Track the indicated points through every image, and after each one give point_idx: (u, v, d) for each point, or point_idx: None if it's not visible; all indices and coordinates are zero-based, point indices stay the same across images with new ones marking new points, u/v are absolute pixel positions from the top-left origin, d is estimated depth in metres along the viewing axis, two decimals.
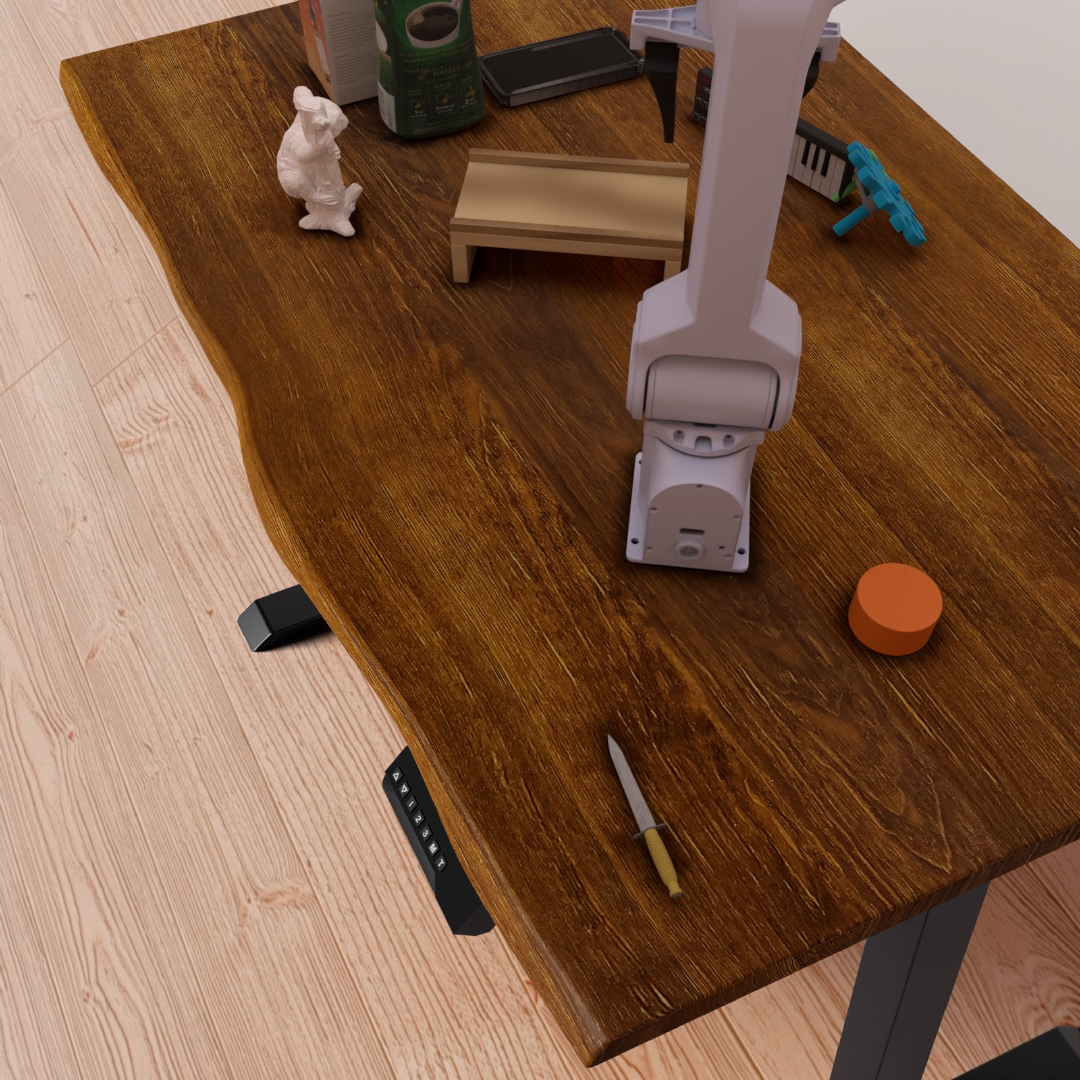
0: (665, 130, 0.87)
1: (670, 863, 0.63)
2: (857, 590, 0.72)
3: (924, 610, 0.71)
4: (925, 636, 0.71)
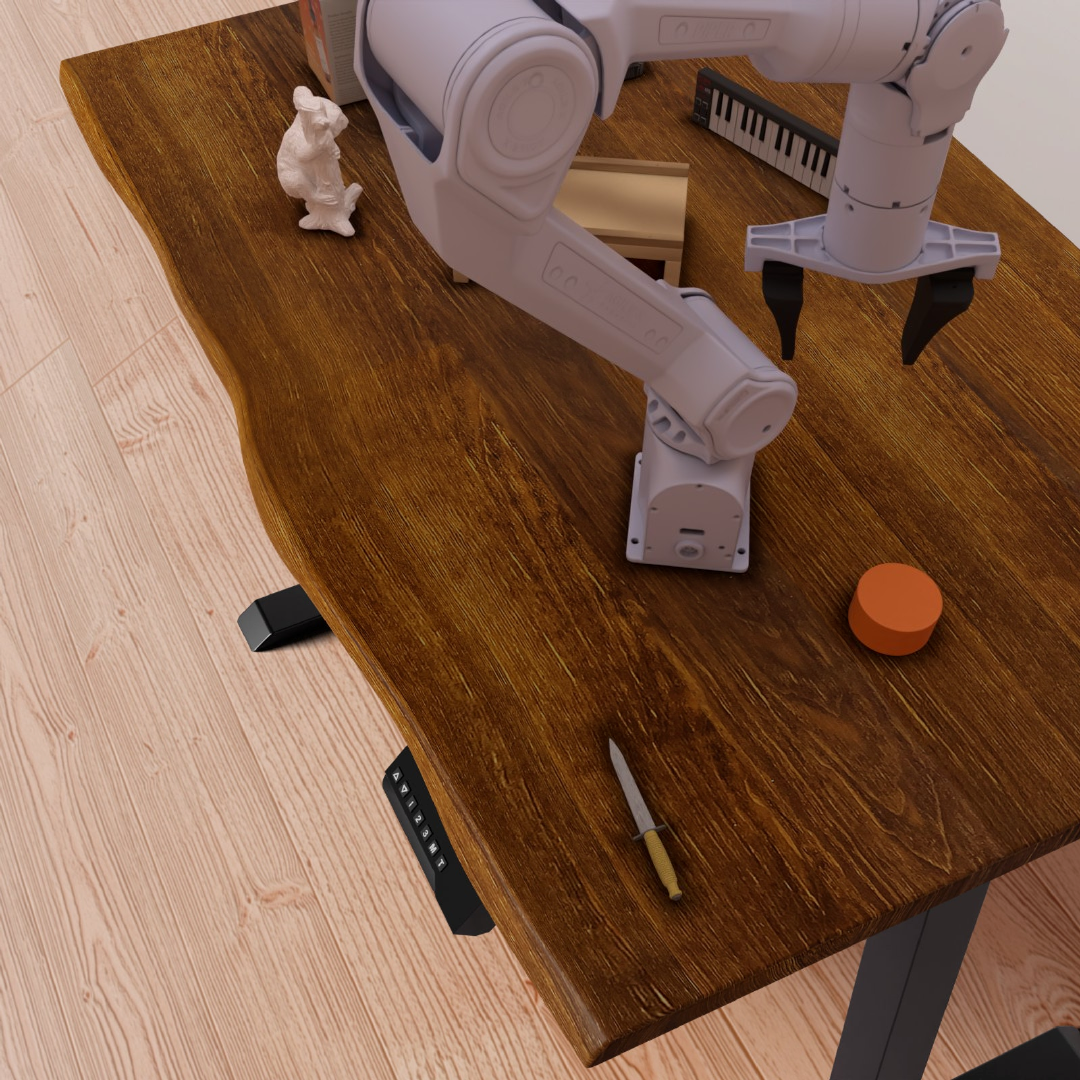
0: (784, 349, 0.74)
1: (670, 865, 0.63)
2: (857, 590, 0.72)
3: (924, 610, 0.71)
4: (925, 636, 0.71)
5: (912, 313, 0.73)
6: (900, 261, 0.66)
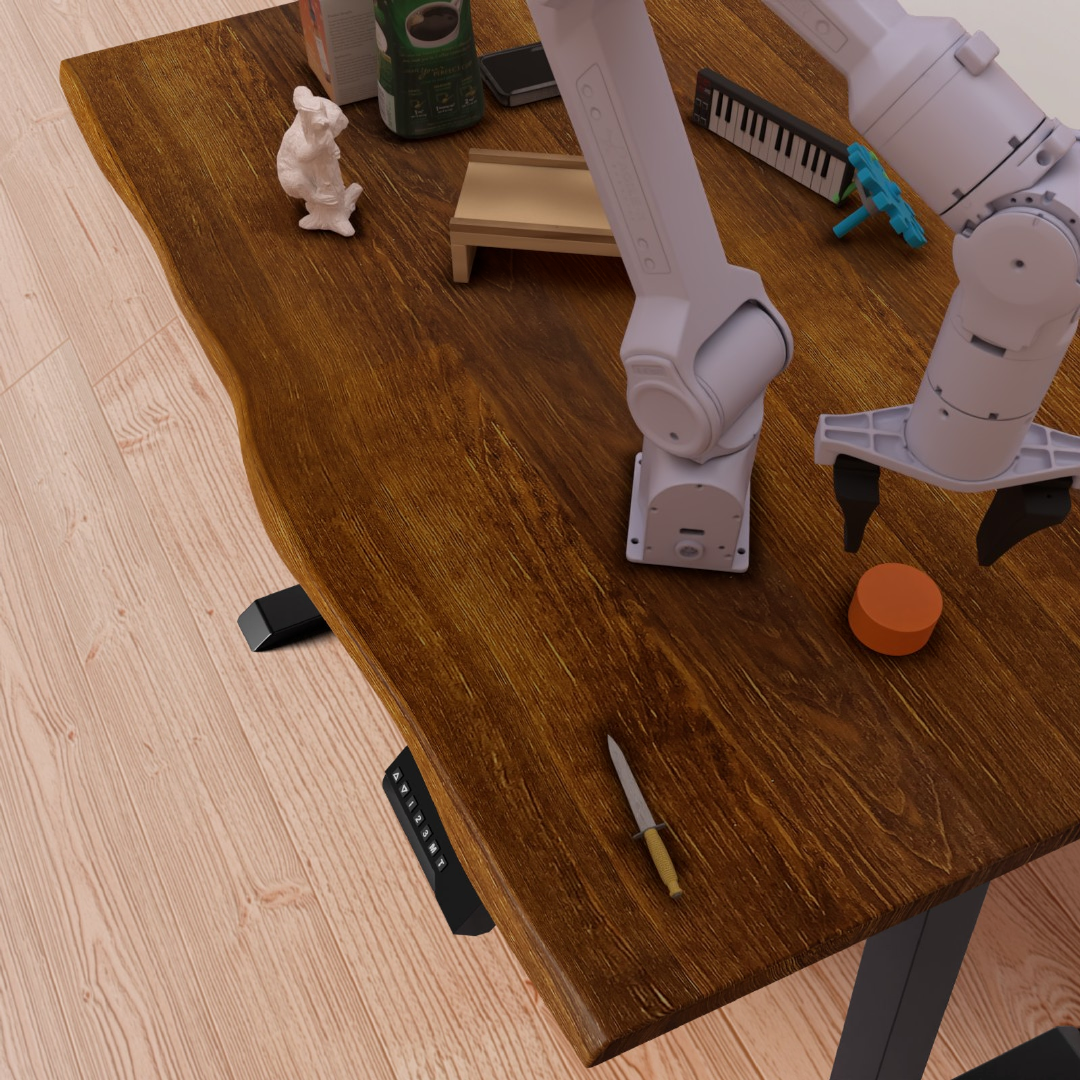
0: (849, 543, 0.67)
1: (670, 863, 0.63)
2: (857, 590, 0.72)
3: (924, 610, 0.71)
4: (925, 636, 0.71)
5: (993, 512, 0.66)
6: (994, 470, 0.59)
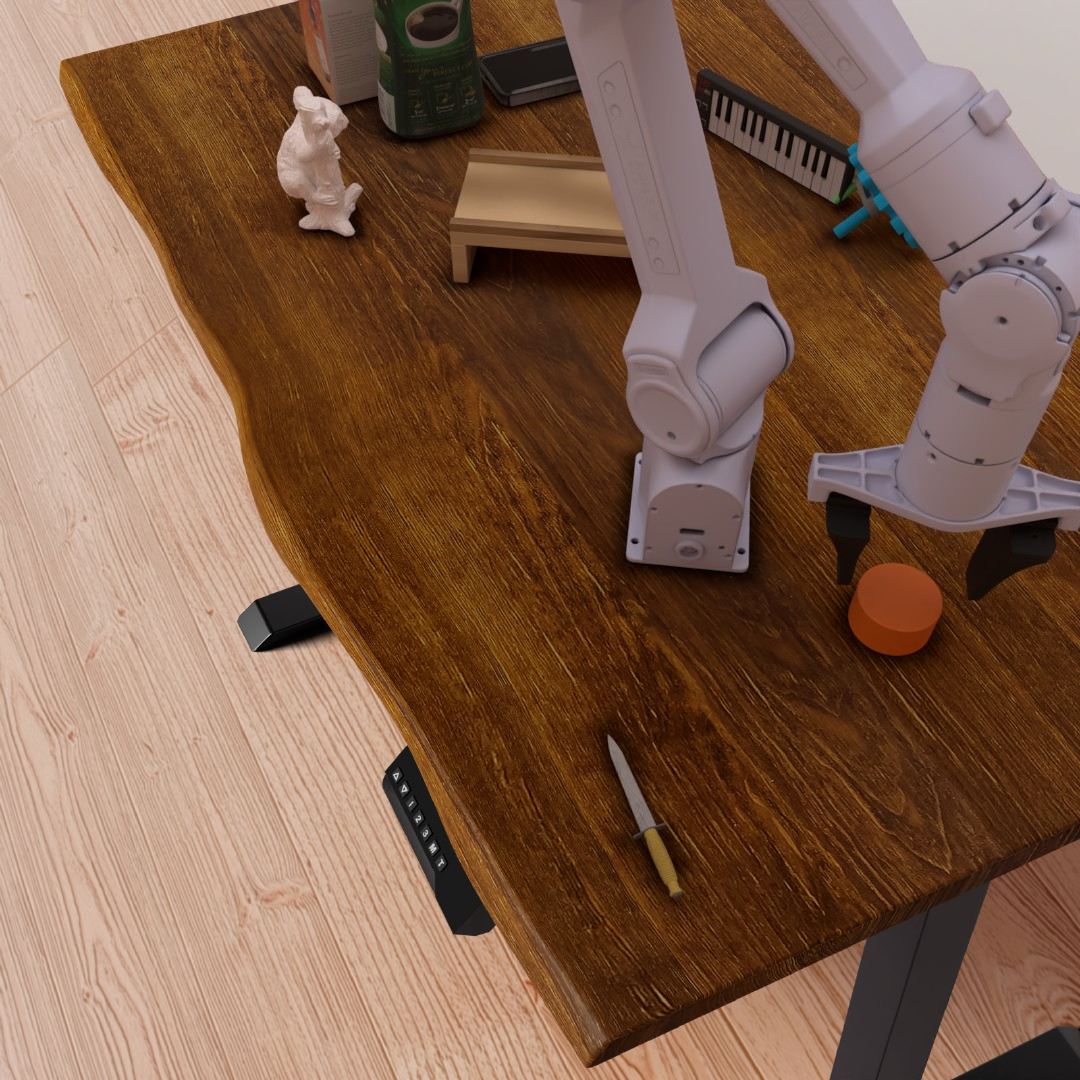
0: (841, 576, 0.69)
1: (670, 863, 0.63)
2: (857, 590, 0.72)
3: (924, 610, 0.71)
4: (925, 636, 0.71)
5: (982, 548, 0.68)
6: (981, 512, 0.61)
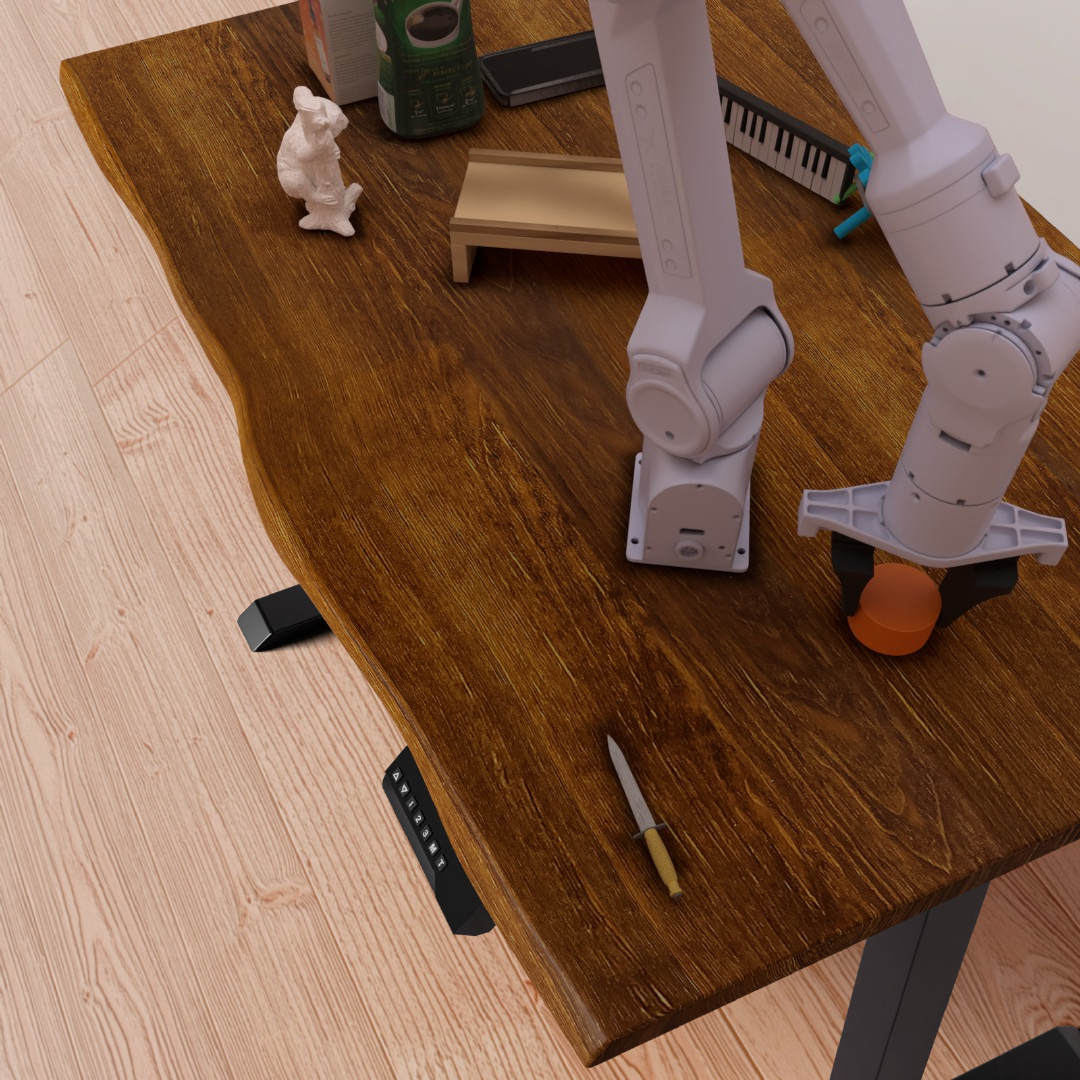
0: (846, 608, 0.71)
1: (670, 863, 0.63)
2: None
3: (923, 610, 0.71)
4: (924, 636, 0.71)
5: (950, 577, 0.71)
6: (964, 548, 0.63)
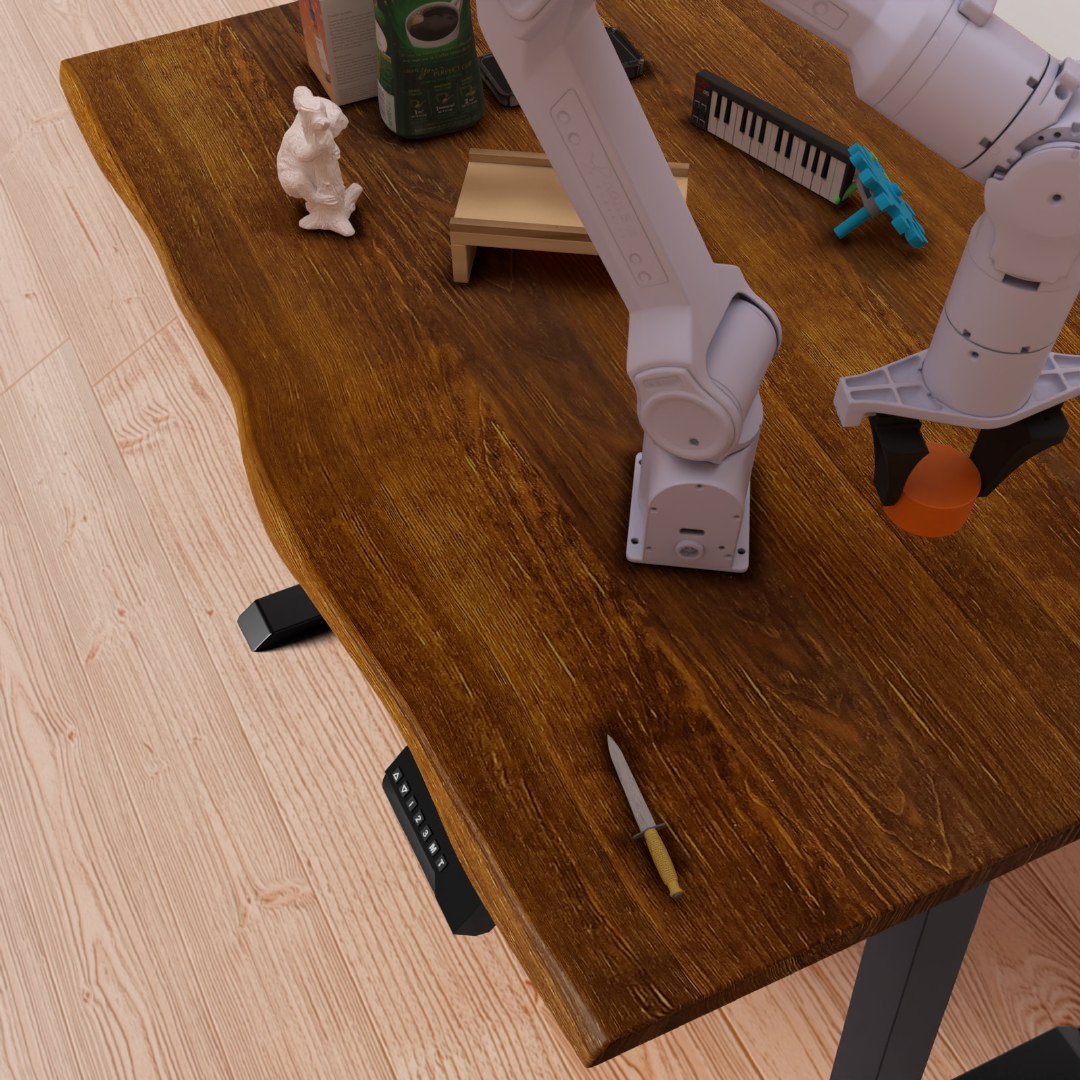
0: (890, 497, 0.67)
1: (670, 863, 0.63)
2: None
3: (965, 483, 0.68)
4: (970, 509, 0.68)
5: (983, 443, 0.68)
6: (1021, 402, 0.60)
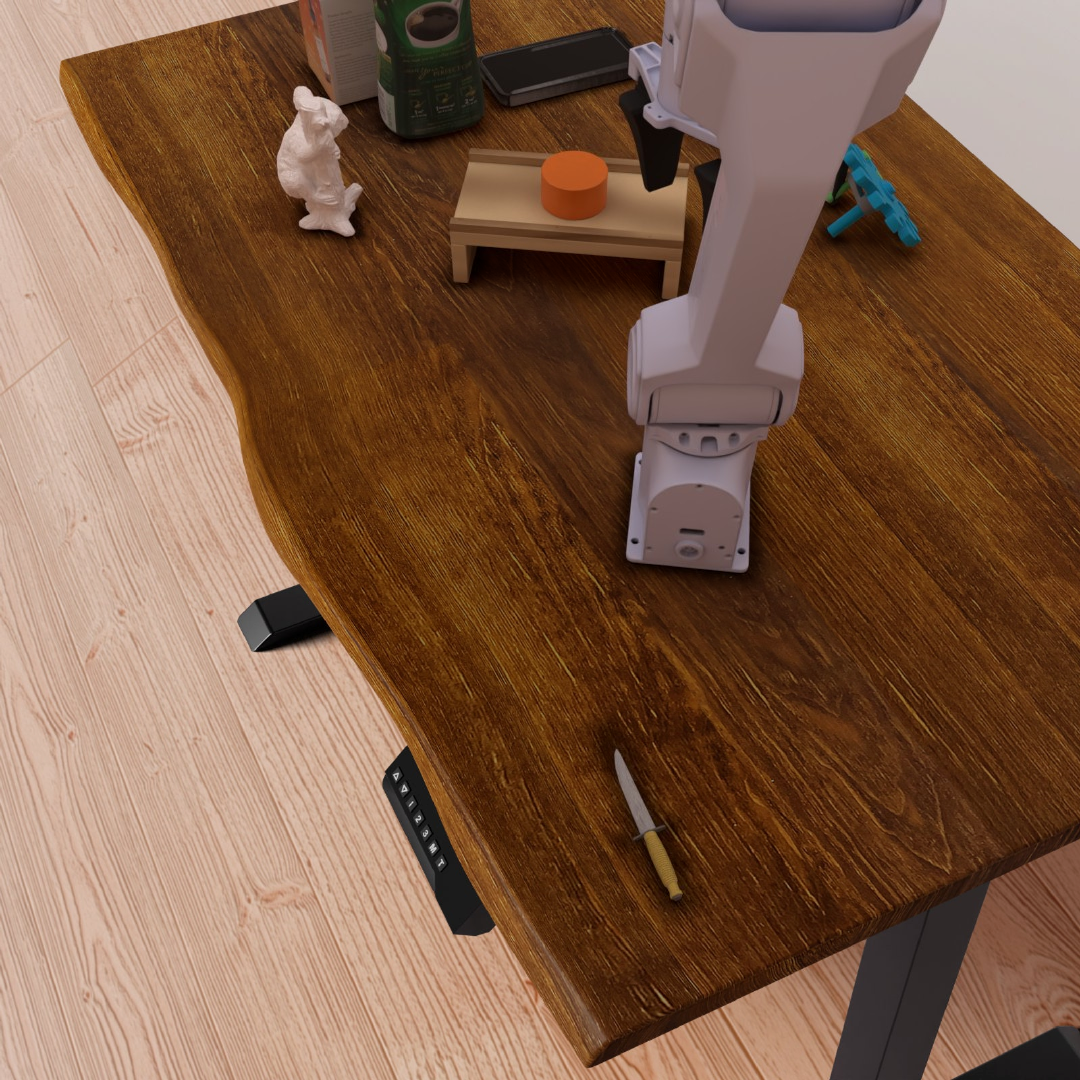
0: None
1: (670, 865, 0.63)
2: (598, 185, 0.89)
3: (568, 157, 0.91)
4: None
5: (654, 156, 0.82)
6: None
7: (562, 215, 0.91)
